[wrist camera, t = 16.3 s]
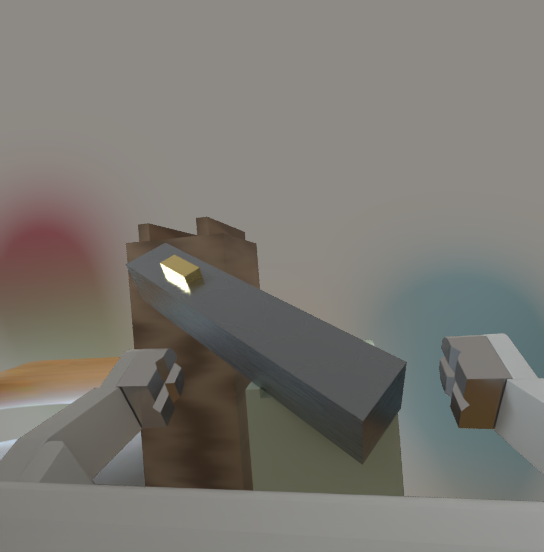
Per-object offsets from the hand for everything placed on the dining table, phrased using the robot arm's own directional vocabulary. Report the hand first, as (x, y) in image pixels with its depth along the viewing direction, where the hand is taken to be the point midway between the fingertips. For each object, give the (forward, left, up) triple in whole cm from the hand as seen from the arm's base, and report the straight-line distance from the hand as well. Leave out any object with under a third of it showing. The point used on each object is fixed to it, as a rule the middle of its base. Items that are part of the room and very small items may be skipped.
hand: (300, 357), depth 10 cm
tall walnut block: (-21, +16, -20) cm, 33 cm away
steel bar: (-9, +8, -2) cm, 12 cm away
